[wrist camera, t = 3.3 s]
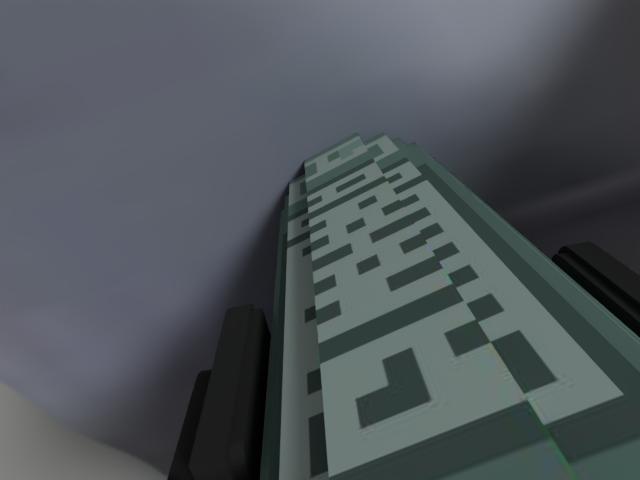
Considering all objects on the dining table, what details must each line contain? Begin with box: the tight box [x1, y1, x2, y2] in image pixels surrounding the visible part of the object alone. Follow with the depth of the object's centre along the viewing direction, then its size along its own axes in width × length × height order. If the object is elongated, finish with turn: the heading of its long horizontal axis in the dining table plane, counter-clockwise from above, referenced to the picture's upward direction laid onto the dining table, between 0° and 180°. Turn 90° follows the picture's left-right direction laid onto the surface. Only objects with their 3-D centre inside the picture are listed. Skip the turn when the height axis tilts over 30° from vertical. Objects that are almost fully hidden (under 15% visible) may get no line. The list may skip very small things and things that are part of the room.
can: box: [260, 133, 640, 480], centre depth 9 cm, size 6×6×15 cm
